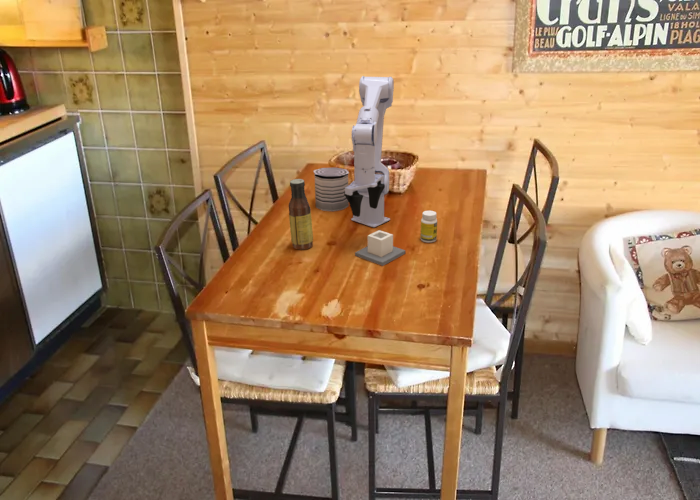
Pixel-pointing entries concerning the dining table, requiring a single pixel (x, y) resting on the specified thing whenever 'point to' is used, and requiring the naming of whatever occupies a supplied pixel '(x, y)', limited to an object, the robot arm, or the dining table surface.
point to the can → (331, 189)
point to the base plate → (377, 259)
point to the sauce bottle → (300, 216)
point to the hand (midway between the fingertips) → (364, 211)
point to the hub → (380, 243)
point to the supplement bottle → (429, 226)
